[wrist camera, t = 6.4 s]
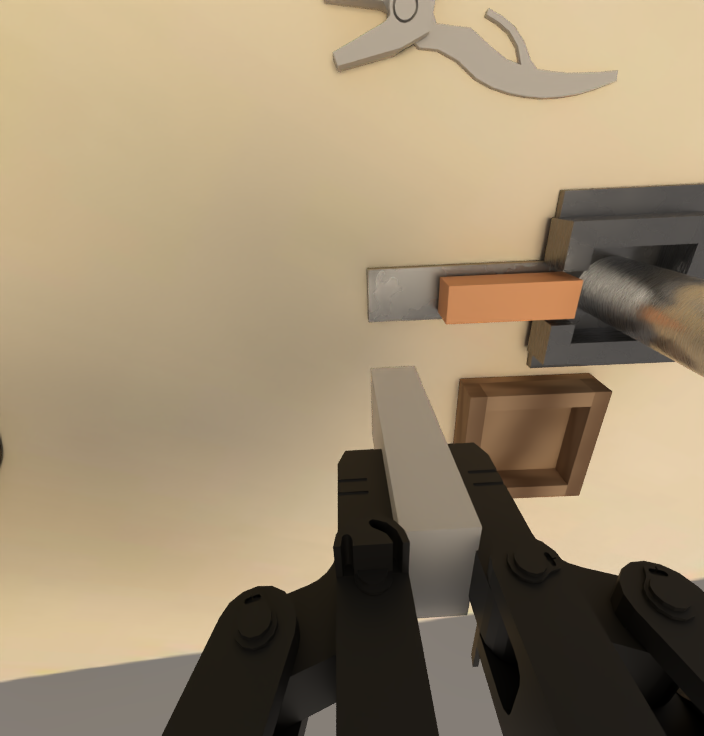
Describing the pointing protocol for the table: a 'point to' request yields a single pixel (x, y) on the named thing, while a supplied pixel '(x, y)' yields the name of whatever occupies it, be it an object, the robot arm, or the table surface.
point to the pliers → (460, 50)
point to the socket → (572, 268)
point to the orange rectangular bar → (508, 297)
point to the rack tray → (534, 428)
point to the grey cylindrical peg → (649, 306)
